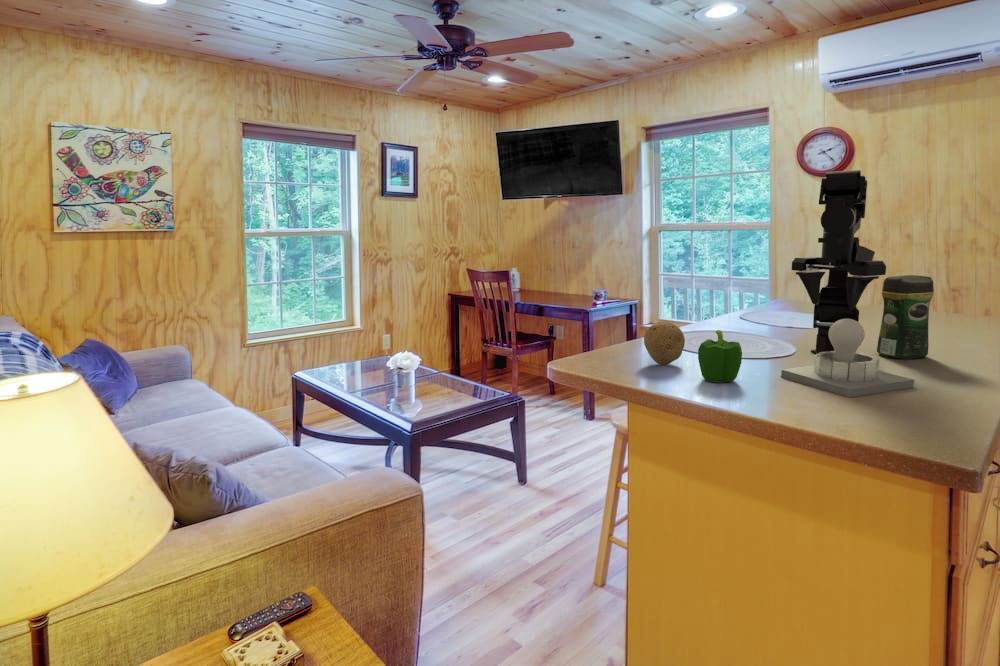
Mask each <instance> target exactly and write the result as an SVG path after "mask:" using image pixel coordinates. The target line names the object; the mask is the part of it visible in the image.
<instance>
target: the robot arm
mask: <svg viewBox="0 0 1000 666" xmlns="http://www.w3.org/2000/svg"><path fill="white" fill-rule="evenodd" d="M819 190H820V191H819V198H818V205H820V206H821V205H825V207H824V208H825V209H824V211H823V212H822V214H821V217H820V225H821V227H822V229H823V230H822V231H823V232H822V237H818V239H817V243H821V245H822V246H821V247H822V248H821V256H817V257H816V256H804V257H795V258H794V259H793V260H792V261H791V271H795V275H797V276H798V277H799V279H800V281H801V282H802V284H803V286H804V289H806V292H807V294H808V296H809V299H810V301H811V303H812V305H813V323H812V325H813V326H812V328H813V329H817V334H816V343H815V349H811V350H810V352H811V353H813V354H817V353H819V352H826V351H834V348H833V346H832V344H831V342H830V339H829V335H828V333H829V329H830V327H831V326H832V324H833V323H835V322H836V321H838V320H841V319H853V320H855V321H857V322H859V319H860V317H859V316H860V310H859V309H858V306H857V304H859V301H860V298H861V297H862V295H863V293H864V291H865V290H866V288H867V286H868V285H869V284H870V283H871V282H872V281H873V280H878V279H879V278H880V276H886V274H887V265H886V263H885V262H884V260H874V256H875V254H876V251H874V250H872V249H870V248H868V247H866V246H863V245H860V237H858V236H857V237H856V236H855V234H856V233H857V232H858V231H859V230H860V228H861V224H862V219H865V218H866V206H867V190H868V180H867V179H866V176H865V175H862V170H860V169H859V170H857V169H855V170H839V171H827V172H826V173H825V177H822V178H821V182H820V189H819ZM821 270H826V271H828V270H829V271H828V276H827V277H828V278H827V279H828V280H827V284H826V286H823V287H821V282H822V281H821V280H822V278H823V277H824V276H825V274H826V271H821Z"/></svg>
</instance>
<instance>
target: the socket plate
mask: <svg viewBox="0 0 1000 666" xmlns="http://www.w3.org/2000/svg"><path fill="white" fill-rule="evenodd" d="M814 367H815V364H813V365H807V366H806V365H805V366H799V367H791V368H784V369H781V373H780V377H781V378H784V379H788V380H791V381H794V382H798V383H801V384H803V385H804V384H805V385H807V386H811V387H813V388H814V387H815V388H817V389H821V390H824V391H828V392H831V393H834V394H838V395H840V396H841V395H842V396H845V397H847V398H855V397H860V396H861V397H862V396H867V395H872V394H879V393H885V392H893V391H898V390H905V389H910V388H914V386H915V385H914V384H915V378H914V379H913V378H909V377H906V376H901V375H897V374H893V373H889V372H885V371H880V370H878V377H877V378H876V379H875V380H871V381H863V382H861V381H842V380H835V379H829V378H826V377H822V376H819V375H817V374H816V373H815V372H814Z"/></svg>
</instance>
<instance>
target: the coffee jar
mask: <svg viewBox="0 0 1000 666" xmlns="http://www.w3.org/2000/svg"><path fill="white" fill-rule="evenodd" d="M881 288H882V289H881V296H882V299H883V308H882V309H883V310H882V316H881V317H882V318H881V323H880V324H881V325H880V330H879V335H878V339H877V345H876V352H877V353H878V354H879V355H881V356H882V357H885V358H895V359H902V360H907V359H910V360H911V359H919V358H925V357H927V356H928V355H929V320H930V319H929V313H930V306H931V301H932V299H933V296H934V280H933V279H932V277H931V276H926V275H924V276H923V275H916V274H904V275H896V276H895V275H894V276H888V277H886V278H885V279H884V280H883V283H882V287H881Z"/></svg>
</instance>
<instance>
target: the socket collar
mask: <svg viewBox="0 0 1000 666" xmlns="http://www.w3.org/2000/svg"><path fill="white" fill-rule="evenodd" d="M814 365H815V367H814V372H815V373H816V374H817V375H819V376H822V377H826V378H829V379H835V380H842V381H861V382H863V381H871V380H875V379H876V378H877V377H878V371H879V368H880V367H879V366H880V358H878V357H876V356H874V355H872V354H871V355H870V354H866V353H862V352H857V351H856V352H855V355H854V360H853V361H852V362H845V361H837V360H835V351H826V352H819V353H815V358H814Z"/></svg>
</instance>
